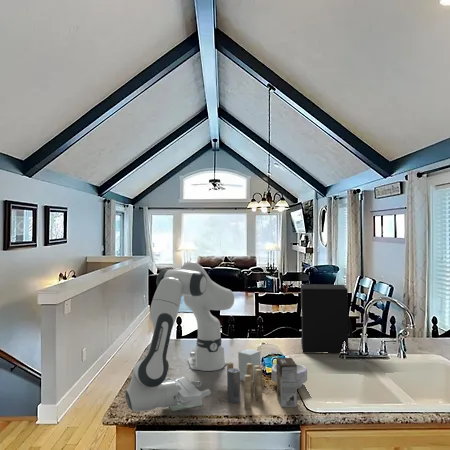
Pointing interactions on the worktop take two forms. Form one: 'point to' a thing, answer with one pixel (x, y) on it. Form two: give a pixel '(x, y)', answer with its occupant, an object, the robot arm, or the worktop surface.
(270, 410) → the worktop surface
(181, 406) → the mat
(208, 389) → the robot arm
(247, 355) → the supplement box
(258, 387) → the spacer field
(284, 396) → the coffee box
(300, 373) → the paper bowls
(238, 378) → the blue gray column
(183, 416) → the worktop surface
